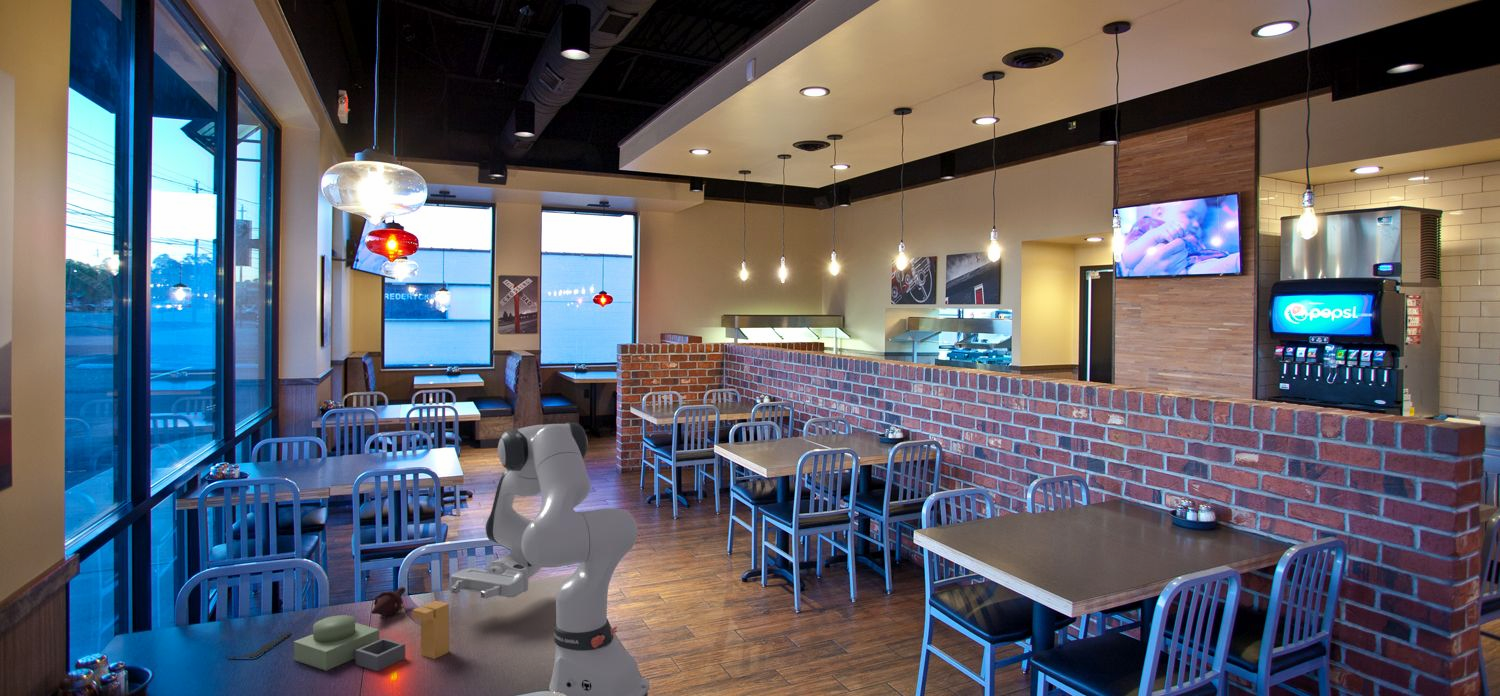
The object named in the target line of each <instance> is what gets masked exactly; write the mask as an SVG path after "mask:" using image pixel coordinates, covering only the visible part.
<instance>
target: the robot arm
mask: <svg viewBox="0 0 1500 696" xmlns="http://www.w3.org/2000/svg"><path fill="white" fill-rule="evenodd" d="M588 445H589V444H588V437H587V433H586V431H585V429H584V428H583V426H582V425H580V424H579V423H577V422H576V423H574V422H565V423H550V424H549V423H548V424H536V425H530V426H524V427H520V428H515V427H514V428H512V429H509V430H506V431H504V432H503V433H502V434H501V435H500V437H499V439H498V445H497V455H498V458H499V461H500V463H501V464H502V467H503V468H505V469H506V470H505V472H503V473H502V474H501V476H500V479H499V481H498V484H497V488H496V491H495V496H494V499H493V503H492V507H491V511H490V514H489V517H488V518H487V521H486V523H485V534H486V537H487V539H488V540H489V541H491V542H493V543H495V544H498V545H500V546H503V547H505V548H507V549H509V550H510V553H509V554H508V555H504V556H502V557H500V558H497V559H495V560H494V561H492V562H490V563H489V564H487V566H486V568H485V569H483V568H478V567H469V568H465V569H462V570H458V571H457V572H454V573H452V574H451V576H450V593H451V594H455V595H456V594H458V593H460V592H461V591H468V592H474V593H479V594H480V598H481V599H489V598H492V597H496V596H497V597H504V598H515V597H517V596H519V595H521V594H523V593H525V592H527V591H528V590H529V579H530V578H532V577H533V576H535V574H537V573H538V572H539V571H540V570H541V569H542V568H560V567H565V566H571V565H576V564H578V566H577V568H576V569H575V571H574V572H573V573H572V574H571V575H569V576H568V577H567V578H566V579H564V580H563V581H562V582H561V584H559V587H558V589H557V590H556V593H555V602H556V603H555V620H556V621H555V623H554V627H553V628H554V631H553V640H554V643H555V650H554V651H555V652H554V653H555V654H554V662H553V663H554V664H553V670H552V674H551V675H552V676H551V679H550V682H549V686H548V690H549V692H550V691H555V692H560V693H564V694H566V695H567V696H645V695H646V694H647V693H648V691H649V690H650V681H649V680H648V679H646V678H643V677H641V676H640V673H639V665H638V664H637V661H636V659H635V658H634V656H632V655H631V654H630V653H629V651H627V650H626V649H625V648H623V646H622V645H621V644H620V643H619V642H618V641H617V640H616V639H615V637H614V636H615V635H614V634H616V632H618V630H617V628H618V626H615V627H613V628H612V626H611V624H610V621H609V619H608V617H607V616H608V595H609V594H608V593H609V588H610V587H609V586H610V582H611V580H612V576H613V574H614V572H615V570H616V568H617V567H618V565H619V563H620V562H621V560H622V559H623V558H624V557H625V556H626V555H627V553H629V552H631V550H632V549H633V547H634V545H635V544H636V541H637V537H638V525H637V522H636V520H635V518H634V517H633V514H631V512H629V510H628V509H622V508H610V507H609V508H608V507H605V508H599V509H593V510H591V509H590V510H585V511H575V510H574V509H575V508H576V507H577V506H579V505H580V504H581V503H583V502H584V501H585V500H586V498H587V497H588V496H589V493H590V492H591V480H590V476H589V474H588V471H587V469H586V468H587V467H586V464H585V461H584V458H585V456H586V454H587V452H588ZM539 494H541V495H540V496H541V506H540V509H539V512H538V513H537V515H536V516H535V517H534V518H533V520H532V519H530V518H528V517H526V516H524V515H522V514H520V513H518V512H517V511H516V510H515V509H514V508H513V505H514V501H515V497H516V496H519V497H520V496H521V497H533V496H536V495H539ZM640 677H641V678H640ZM643 681H644V682H645V683H644V682H643ZM645 685H646V686H645Z"/></svg>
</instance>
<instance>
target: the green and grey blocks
mask: <svg viewBox="0 0 1500 696" xmlns="http://www.w3.org/2000/svg"><path fill="white" fill-rule="evenodd" d="M312 632H313V634H310V635H309V634H308V635H307V636H305V637H302V638H299V639H296V640H294V641H293V660H294V661H296V662H299V663H302V664H306V665H307V666H311V667H314V668H317V669H320V670H323V671H326V672H327V671H329V670H332V669H334V668H336V667H338V666H341V665H343V664H345V663H348V662H349V661H352V660H355V665H357V666H359V667H362V668H366V669H368V670H371V671H374V672H380V671H381V670H383V669H386V668H388V667H390V666H392V665H394V664H396V663H399V662H401V661H404V660H405V659H406V644H405V643H403V642H400V641H395V640H393V639H389V638H385V637H383V638H381V639H380V629H379V628H374V627H371V626H368V625H364V624H362V623H358V622H356V618H355V616H352V615H347V614H343V615H341V614H340V615H333V616H332V615H331V616H328V617H324V618H322V619H320V620H317V621H316V622H314V624H313V625H312Z"/></svg>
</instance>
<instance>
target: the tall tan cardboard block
mask: <svg viewBox="0 0 1500 696" xmlns="http://www.w3.org/2000/svg"><path fill="white" fill-rule="evenodd" d="M449 607H450V606H449V603H447V602H443V601H440V600H434V601H430V602H428V603H426V604H424V605H421V606H419V607H416V608H414V609H412V619H415V620H418V621H420V651H421V652H420V653H421V655H420V656H423V657H426V658H429V659H432V660H436V659H437V658H440V657H442V656H443V655H446V654H447V653H450V612H449V611H450V608H449Z"/></svg>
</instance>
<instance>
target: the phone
mask: <svg viewBox="0 0 1500 696" xmlns="http://www.w3.org/2000/svg"><path fill="white" fill-rule="evenodd" d="M286 632H287V634H286V633H285V634H284V635H281V636H280V637H278V638H279V639H277V640H278V641H277V640H276V641H272V642H269V643H268V644H266V645H264V646H263V647H262V648H260V650H259V651H258V652H254V651H253V652H254V653H256V654H254V653H249V654H251V655H248V654H247V655H245V657H248V656H249V658H253V657H257V656H259V655H260V654H262V653H263V652H265V651H266V650H268V649H270V648H271V647H272V646H274V645H275V644H277V643H279V642H280V641H282V640H283V639H284V638H286V637H288V636H289V635H290V634H293V633H292V631H286ZM289 637H290V636H289ZM289 637H288V638H289ZM286 639H287V638H286ZM283 641H284V640H283ZM283 641H282V642H283ZM280 643H281V642H280ZM280 643H279V644H280ZM277 645H278V644H277ZM270 650H271V649H270ZM252 654H253V655H252ZM229 655H230V654H229ZM239 655H240V654H239ZM243 655H244V654H243ZM228 657H229V656H228V655H227V658H228ZM230 657H234V658H235V657H236V656H231V655H230ZM237 657H240V656H237ZM241 657H244V656H241Z"/></svg>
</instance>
